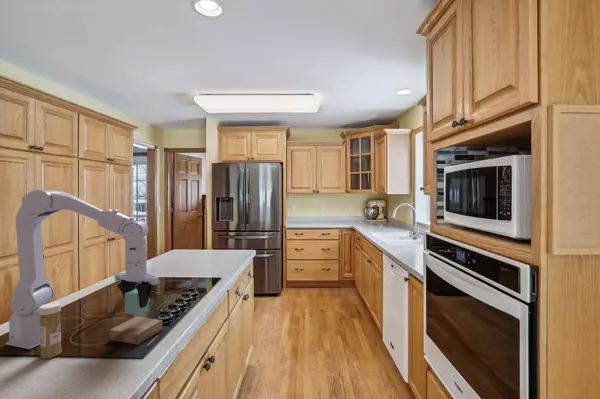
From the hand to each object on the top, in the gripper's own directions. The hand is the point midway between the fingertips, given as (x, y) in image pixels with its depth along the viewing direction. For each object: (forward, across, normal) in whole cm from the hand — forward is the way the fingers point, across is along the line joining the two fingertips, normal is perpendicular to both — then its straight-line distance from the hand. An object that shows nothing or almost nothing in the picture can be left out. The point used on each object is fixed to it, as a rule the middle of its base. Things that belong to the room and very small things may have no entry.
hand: (136, 305), depth 96 cm
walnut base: (+9, 0, 0) cm, 9 cm away
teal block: (+2, 0, 0) cm, 2 cm away
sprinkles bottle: (+9, +13, +16) cm, 23 cm away
